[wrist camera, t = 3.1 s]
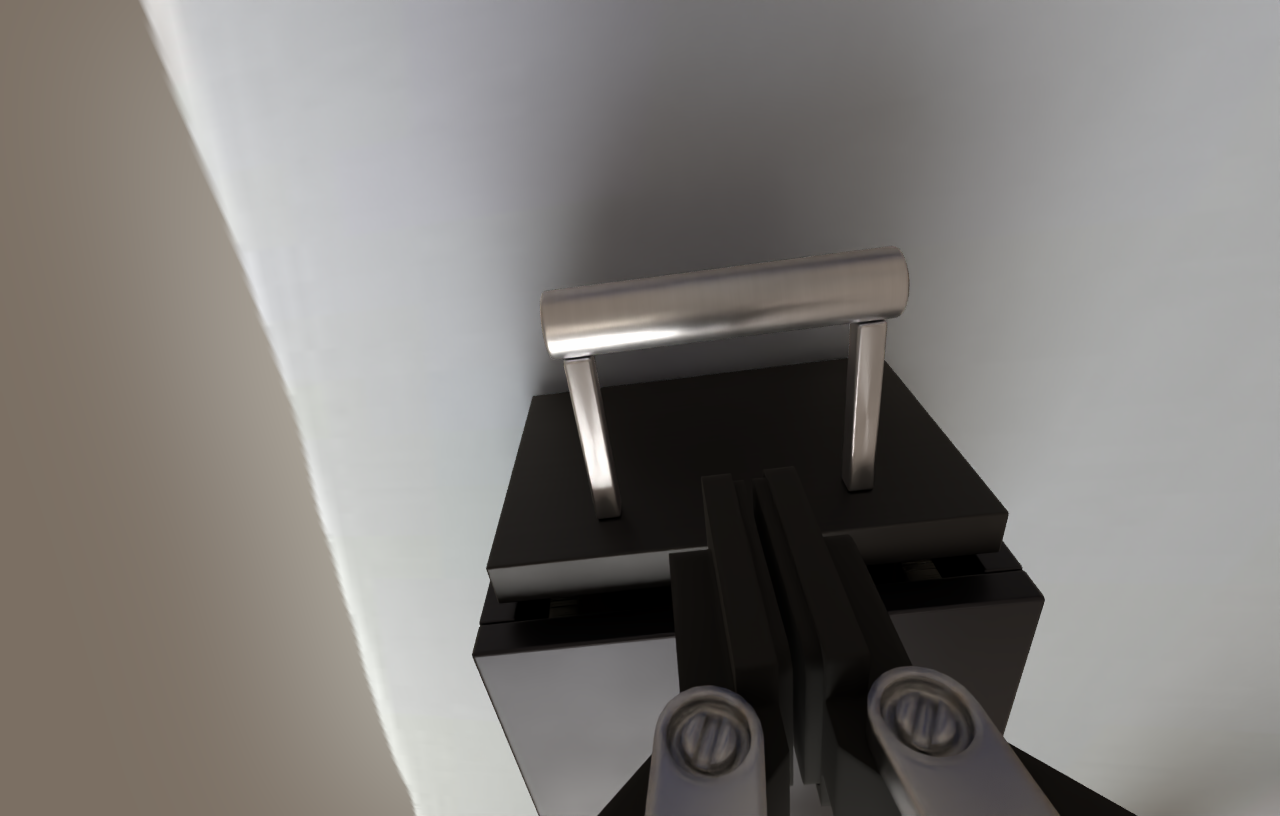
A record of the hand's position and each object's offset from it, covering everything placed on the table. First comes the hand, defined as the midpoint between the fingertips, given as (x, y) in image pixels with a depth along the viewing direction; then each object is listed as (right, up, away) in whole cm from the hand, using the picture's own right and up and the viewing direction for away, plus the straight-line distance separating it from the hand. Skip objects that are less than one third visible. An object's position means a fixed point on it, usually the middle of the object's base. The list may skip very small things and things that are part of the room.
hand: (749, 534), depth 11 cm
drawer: (+1, 0, +11) cm, 11 cm away
